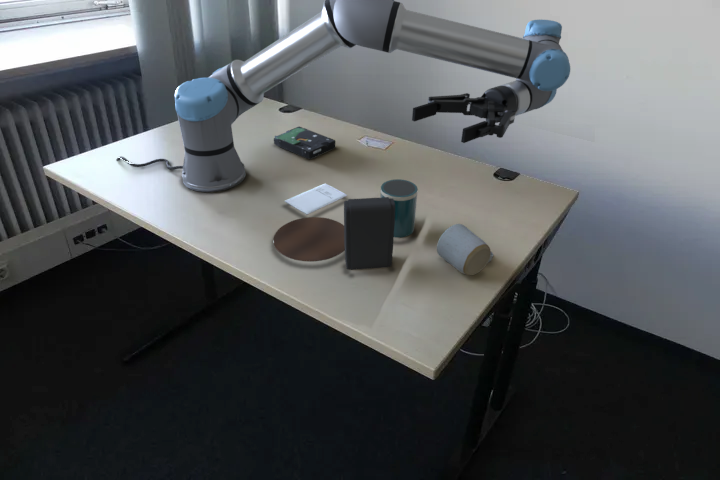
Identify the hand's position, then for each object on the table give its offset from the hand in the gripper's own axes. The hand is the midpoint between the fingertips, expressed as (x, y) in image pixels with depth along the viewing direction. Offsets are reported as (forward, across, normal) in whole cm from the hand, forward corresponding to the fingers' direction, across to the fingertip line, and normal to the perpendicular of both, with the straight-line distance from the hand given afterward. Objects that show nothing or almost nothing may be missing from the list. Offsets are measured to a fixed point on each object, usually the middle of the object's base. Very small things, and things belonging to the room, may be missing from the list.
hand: (437, 124), depth 103 cm
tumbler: (+10, 0, -22) cm, 24 cm away
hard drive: (+16, +20, -22) cm, 34 cm away
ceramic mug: (+6, -16, -22) cm, 28 cm away
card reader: (+22, -6, -22) cm, 32 cm away
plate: (+26, +8, -22) cm, 35 cm away
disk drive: (0, +48, -22) cm, 53 cm away
